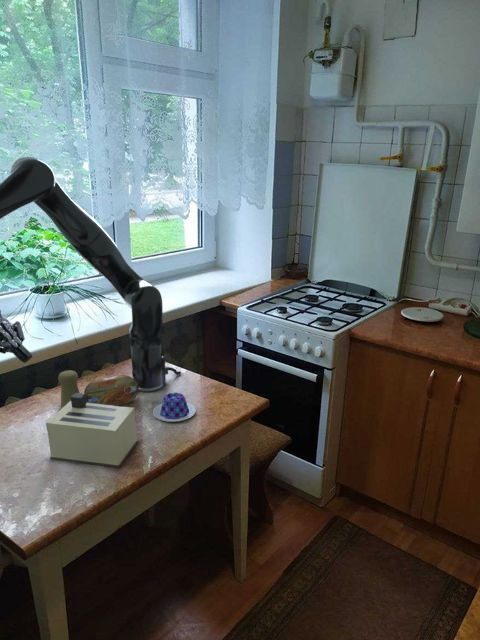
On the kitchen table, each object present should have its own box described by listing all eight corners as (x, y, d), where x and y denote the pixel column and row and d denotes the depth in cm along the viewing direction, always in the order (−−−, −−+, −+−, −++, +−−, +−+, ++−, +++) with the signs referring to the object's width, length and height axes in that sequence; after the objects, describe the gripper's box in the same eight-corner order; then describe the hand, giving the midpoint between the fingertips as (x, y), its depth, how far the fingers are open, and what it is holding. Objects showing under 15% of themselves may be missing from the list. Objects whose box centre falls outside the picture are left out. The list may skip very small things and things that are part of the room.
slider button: (76, 402, 124) (75, 392, 123) (86, 403, 123) (85, 393, 122) (71, 407, 121) (70, 397, 120) (81, 408, 121) (80, 398, 120)
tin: (86, 411, 140) (83, 385, 136) (84, 406, 142) (81, 380, 139) (139, 401, 146) (137, 375, 143) (136, 397, 149) (135, 371, 146)
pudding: (148, 407, 143) (147, 391, 141) (187, 399, 148) (187, 384, 146) (160, 427, 133) (159, 410, 131) (202, 418, 138) (201, 401, 136)
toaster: (77, 431, 130) (72, 397, 126) (140, 438, 128) (137, 404, 124) (50, 459, 118) (44, 422, 114) (119, 468, 116) (115, 431, 112)
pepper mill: (86, 402, 144) (82, 368, 140) (77, 413, 139) (73, 377, 135) (66, 401, 145) (62, 367, 141) (56, 411, 139) (51, 376, 135)
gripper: (-39, 305, 109) (20, 361, 112) (0, 289, 121) (52, 340, 124) (-56, 325, 112) (3, 380, 115) (-16, 308, 124) (36, 358, 127)
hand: (28, 359), depth 120 cm, fingers closed
